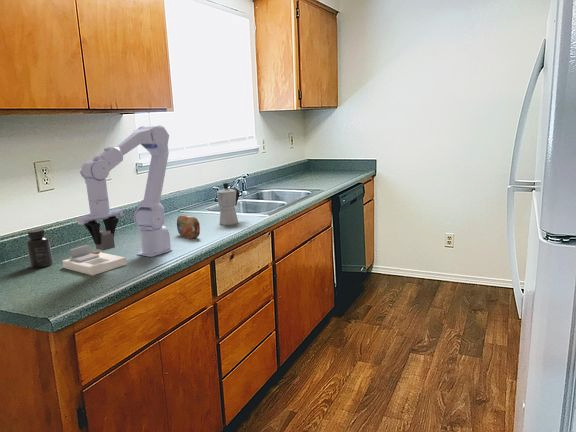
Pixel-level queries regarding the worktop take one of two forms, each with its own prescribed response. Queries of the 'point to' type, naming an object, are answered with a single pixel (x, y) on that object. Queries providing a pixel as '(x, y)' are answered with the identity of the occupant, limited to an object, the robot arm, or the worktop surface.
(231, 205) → the coffee maker
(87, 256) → the shutter
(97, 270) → the socket plate
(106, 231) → the plug
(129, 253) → the worktop surface
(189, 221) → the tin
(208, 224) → the worktop surface
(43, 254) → the supplement bottle
